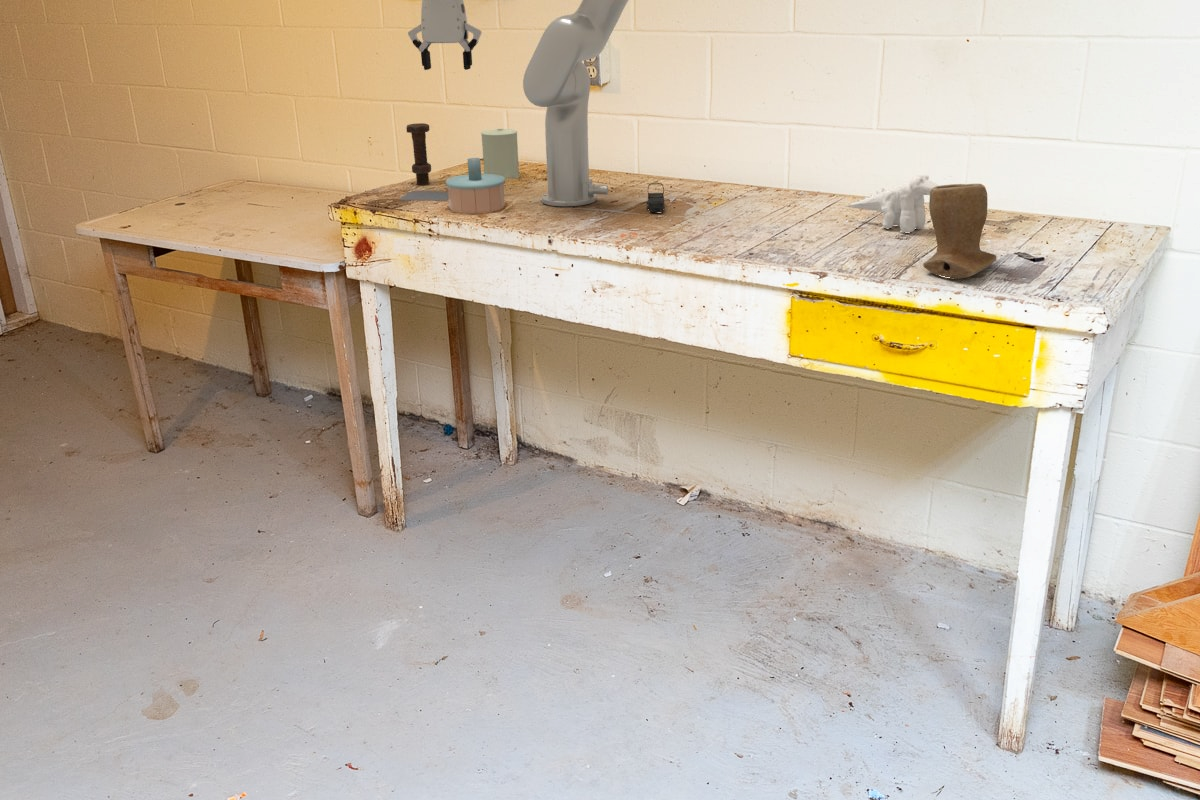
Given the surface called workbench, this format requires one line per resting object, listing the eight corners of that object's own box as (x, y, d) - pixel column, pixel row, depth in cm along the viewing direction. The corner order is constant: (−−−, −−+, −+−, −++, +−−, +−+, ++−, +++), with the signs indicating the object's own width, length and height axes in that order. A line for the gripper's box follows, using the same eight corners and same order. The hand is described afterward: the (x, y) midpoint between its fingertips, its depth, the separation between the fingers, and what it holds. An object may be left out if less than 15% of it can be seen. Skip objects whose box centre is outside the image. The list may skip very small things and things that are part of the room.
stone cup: (937, 255, 192) (946, 173, 186) (1003, 265, 185) (1014, 180, 179) (903, 274, 181) (911, 188, 175) (971, 286, 174) (982, 196, 168)
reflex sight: (646, 215, 227) (646, 192, 225) (646, 205, 236) (646, 182, 234) (664, 215, 226) (664, 192, 224) (664, 204, 236) (664, 182, 234)
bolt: (431, 188, 257) (425, 126, 251) (411, 189, 257) (405, 126, 252) (435, 183, 263) (430, 122, 257) (415, 184, 263) (409, 123, 257)
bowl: (509, 204, 239) (508, 177, 237) (495, 216, 228) (494, 189, 226) (459, 203, 241) (457, 177, 239) (443, 215, 230) (441, 188, 228)
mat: (459, 193, 251) (459, 191, 250) (447, 203, 242) (446, 200, 241) (412, 193, 253) (412, 190, 253) (397, 202, 244) (397, 199, 244)
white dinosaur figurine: (943, 237, 199) (944, 179, 196) (835, 230, 216) (834, 176, 212) (961, 230, 204) (961, 173, 200) (853, 224, 220) (852, 171, 217)
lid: (511, 177, 237) (509, 153, 235) (496, 189, 225) (494, 164, 223) (456, 176, 239) (454, 153, 237) (438, 188, 228) (436, 164, 225)
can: (520, 173, 272) (517, 126, 268) (519, 180, 264) (517, 132, 259) (484, 174, 272) (481, 127, 267) (483, 181, 263) (479, 133, 259)
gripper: (482, -11, 239) (487, 67, 245) (410, -10, 242) (417, 67, 248) (473, -10, 232) (478, 70, 239) (399, -9, 235) (406, 71, 242)
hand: (447, 69), depth 244 cm, fingers open, 9 cm apart
